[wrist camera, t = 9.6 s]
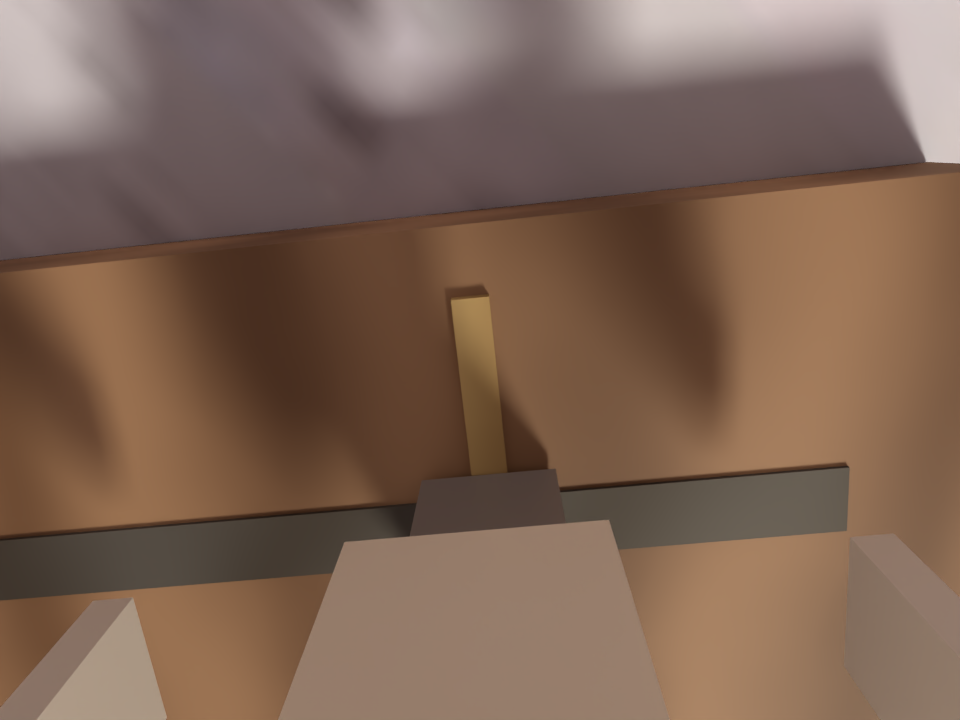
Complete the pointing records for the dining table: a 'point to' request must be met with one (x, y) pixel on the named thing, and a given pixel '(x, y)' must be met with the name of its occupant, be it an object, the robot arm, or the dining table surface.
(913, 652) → the robot arm
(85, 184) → the dining table surface
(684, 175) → the dining table surface
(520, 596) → the fader knob
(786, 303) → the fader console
